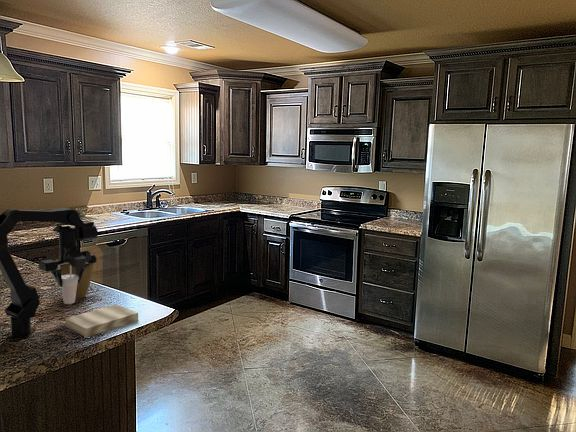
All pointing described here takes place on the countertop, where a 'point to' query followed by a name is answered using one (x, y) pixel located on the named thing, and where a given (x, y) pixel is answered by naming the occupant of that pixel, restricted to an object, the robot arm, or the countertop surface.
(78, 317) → the plinth
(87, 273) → the plant pot
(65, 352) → the countertop surface
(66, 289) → the smoothie
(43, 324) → the countertop surface
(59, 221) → the robot arm
